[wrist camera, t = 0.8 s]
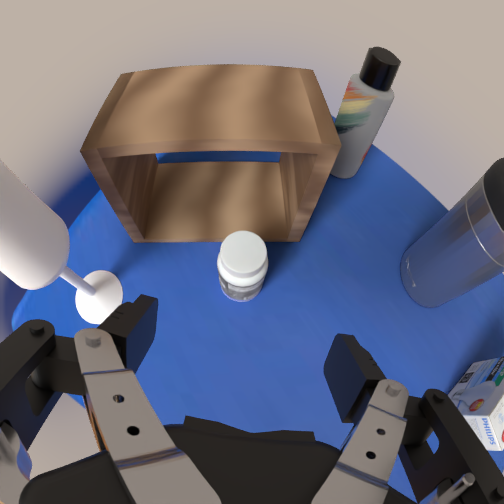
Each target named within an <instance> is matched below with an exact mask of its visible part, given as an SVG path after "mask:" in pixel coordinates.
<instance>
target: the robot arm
mask: <svg viewBox="0 0 504 504" xmlns="http://www.w3.org/2000/svg"><path fill="white" fill-rule="evenodd" d="M400 271H401V278H402V281H403V284H404V286H405V289H406V291H407V292H408V294H409V295H410V297H411V298H412V299H413V300H414V301H415V302H417V303H418V304H420V305H422V306H424V307H428V308H433V307H437V306H439V305H442V304H444V303H446V302H448V301H450V300H452V299H454V298H456V297H458V296H460V295H462V294H464V293H466V292H468V291H470V290H472V289H474V288H476V287H477V286H479V285H481V284H483V283H485V282H486V281H488V280H490V279H492V278H493V277H495V276H497V275H499V274H500V273H502V272H504V158H501V159H499V160H497V161H496V162H495V163H494V164H493V165H492V166H491V167H490V169H488V171H487V172H486V173H485V174H484V175H483V176H482V177H481V179H480V180H479V181H478V182H477V183H476V184H475V185H474V186H473V187H472V188H471V189H470V190H469V191H468V193H467V194H466V195H465V196H464V197H463V198H462V199H461V200H460V201H459V202H458V203H457V204H456V205H455V206H454V207H453V208H452V209H451V210H450V211H449V212H447V213H446V214H445V215H444V216H443V217H442V218H441V219H440V220H439V221H438V222H437V223H436V224H435V225H434V226H433V227H432V228H431V229H429V230H428V231H427V232H426V233H425V234H424V235H423V236H422V237H421V238H419V239H418V240H417V241H416V242H415V243H414V244H413V245H412V246H411V247H409V248H408V249H407V250H406V251H405V253H404V255H403V257H402V260H401V267H400ZM157 310H158V299H157V298H154V297H150V296H146V295H143V294H141V295H140V296H139V297H138V298H137V299H136V300H135V301H134V303H131V302H126V303H124V304H121V305H119V306H118V307H117V308H116V309H115V310H114V312H112V313H111V314H110V315H109V316H108V317H107V318H106V319H105V320H104V321H103V322H102V323H101V324H100V325H99V326H98V327H97V328H87V329H83V330H80V331H79V332H77V333H76V334H75V337H74V338H69V337H63V336H57V335H55V329H54V326H53V325H52V324H51V323H50V322H48V321H45V320H40V319H35V320H30V321H27V322H25V323H24V324H22V325H21V326H20V327H19V328H18V329H16V330H15V331H14V332H13V333H12V334H11V335H9V336H8V337H7V338H6V339H5V340H4V341H3V342H1V343H0V504H417V503H418V504H504V477H503V475H502V473H501V472H500V470H499V468H498V467H497V465H496V464H495V462H494V460H493V459H492V457H491V456H490V454H489V453H488V451H487V450H486V448H485V447H484V445H483V444H482V442H481V441H480V439H479V438H478V436H477V435H476V434H475V432H474V431H473V429H472V428H471V426H470V425H469V424H468V422H467V421H466V419H465V418H464V417H463V415H462V414H461V412H460V411H459V410H458V408H457V407H456V406H455V404H454V403H453V402H452V400H451V399H450V398H449V396H448V395H447V394H445V393H444V392H442V391H440V390H437V389H428V390H426V392H425V393H424V395H423V397H422V398H418V397H413V396H409V392H408V390H407V388H406V387H405V386H404V385H402V384H401V383H399V382H397V381H394V380H390V379H387V378H386V377H385V375H384V374H383V372H382V371H381V369H380V368H379V366H377V363H376V362H375V360H374V359H373V357H372V356H371V354H370V353H369V352H368V351H367V350H365V349H364V348H363V347H362V346H360V344H359V343H358V341H357V340H356V338H355V337H354V336H353V335H347V334H337V335H336V336H335V338H334V340H333V343H332V346H331V348H330V351H329V353H328V356H327V358H326V361H325V364H324V375H325V378H326V381H327V383H328V386H329V389H330V391H331V394H332V397H333V399H334V402H335V405H336V407H337V410H338V413H339V415H340V418H341V421H342V423H354V426H353V427H352V429H351V430H350V432H349V434H348V436H347V437H346V439H345V441H344V442H343V444H342V445H341V447H340V449H337V448H335V447H333V446H331V445H329V444H326V443H323V442H320V441H316V440H315V436H314V432H309V431H289V430H281V431H271V432H260V433H250V432H246V431H243V430H240V429H237V428H234V427H231V426H228V425H225V424H222V423H220V422H216V421H210V420H205V419H200V418H195V417H191V416H185V420H184V424H169V425H162V424H161V422H160V420H159V419H158V417H157V415H156V414H155V412H154V410H153V408H152V406H151V405H150V403H149V401H148V399H147V397H146V396H145V394H144V392H143V390H142V388H141V386H140V384H139V382H138V380H137V378H136V376H135V373H136V371H137V370H138V368H139V366H140V364H141V362H142V361H143V359H144V357H145V355H146V353H147V352H148V350H149V348H150V346H151V345H152V343H153V340H154V337H155V332H156V321H157ZM30 374H31V375H30ZM27 378H28V379H27ZM63 393H69V394H75V395H82V397H83V400H84V404H85V407H86V411H87V414H88V417H89V420H90V424H91V427H92V430H93V433H94V435H95V439H96V442H97V445H98V448H99V451H100V452H98V453H96V454H94V455H91V456H89V457H86V458H84V459H81V460H79V461H76V462H74V463H71V464H68V465H65V466H63V467H60V468H57V469H54V470H51V471H48V472H45V473H43V474H40V475H38V476H36V477H34V478H33V479H31V480H30V472H31V469H32V461H31V458H30V456H29V454H28V453H27V451H28V449H29V447H30V445H31V444H32V442H33V440H34V439H35V437H36V435H37V433H38V432H39V430H40V428H41V427H42V425H43V423H44V422H45V420H46V419H47V417H48V415H49V414H50V412H51V411H52V409H53V407H54V406H55V404H56V403H57V401H58V400H59V398H60V397H61V395H62V394H63ZM433 431H434V432H435V434H436V436H437V437H438V439H439V448H438V450H437V451H436V452H435V454H433V452H432V450H431V448H430V447H429V445H428V443H427V441H426V440H427V438H428V437H429V436H430V434H431V433H432V432H433ZM397 454H398V455H399V457H400V460H401V462H402V465H403V467H404V469H405V472H406V474H407V477H408V479H409V482H410V484H411V487H412V490H413V492H414V495H415V497H416V500H417V503H415V502H414V501H412V500H411V499H409V498H407V497H406V496H404V495H403V494H401V493H400V492H398V491H397V490H395V489H394V488H392V487H391V486H389V485H388V484H387V482H388V479H389V476H390V474H391V471H392V468H393V465H394V463H395V460H396V457H397Z"/></svg>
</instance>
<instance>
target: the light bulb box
mask: <svg viewBox="0 0 504 504" xmlns="http://www.w3.org/2000/svg"><path fill="white" fill-rule="evenodd" d="M448 396H449V398H450V399H451V400H452V402H453V403H454V404H455V406H456V407H457V408H458V410H459V411H460V412H461V414H462V415H463V417H464V418H465V419H466V421H467V422H468V424H469V425H470V426H471V428H472V429H473V431H474V432H475V434H476V435H477V436H478V438H479V439H480V441H481V442H482V444H483V445H484V447H485V448H486V450H494V451H502V450H503V449H504V356H503V357H499V358H495V359H490V360H485V361H480V362H475V363H473V364H472V365H471V366H470V368H469V369H468V370H467V372H466V373H465V374H464V376H463V377H462V378H461V379H460V381H459V382H458V383H457V384H456V386H455V387H454V388H453V389H452V390H451V392H450V393H449V394H448Z"/></svg>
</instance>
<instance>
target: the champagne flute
mask: <svg viewBox="0 0 504 504" xmlns="http://www.w3.org/2000/svg"><path fill="white" fill-rule="evenodd" d="M69 249H70V242H69V234H68V230H67V228H66V225H65V223H64V222H63V220H62V219H61V218H60V217H59V216H58V215H57V214H56V213H55V212H53V211H52V210H51V209H50V208H49V207H48V206H47V205H46V204H45V203H44V202H42V201H41V200H40V199H39V198H38V197H37V196H36V195H35V194H34V193H33V192H32V191H31V190H30V189H29V188H28V187H27V186H26V185H25V184H24V183H23V182H22V181H21V180H20V179H18V177H17V176H16V175H15V174H14V173H13V172H12V171H11V170H10V169H9V168H8V167H7V166H6V165H5V164H4V163H3V162H2V161H1V160H0V271H1V272H3V273H4V274H5V275H6V276H7V277H9V278H10V279H11V280H13V281H14V282H15V283H16V284H17V285H19V286H20V287H22V288H25V289H29V290H35V289H39V288H42V287H45V286H47V285H49V284H51V283H52V282H53V281H55V280H56V279H57V278H58V277H59V276H61V277H62V278H63V279H65V280H66V281H68V282H69V283H70V284H72V285H73V286H75V287H76V288H78V289H77V292H76V306H77V310H78V312H79V314H80V315H81V316H82V318H83V319H85V320H86V321H88V322H89V323H93V324H101V323H102V322H103V321H104V320H105V319H106V318H107V317H108V316H109V315H110V314H111V313H112V312H114V310H115V309H116V308H117V307H118V306H119V305H121V304H122V299H123V291H122V286H121V283H120V281H119V280H118V278H117V277H116V276H115V275H114V274H112V273H111V272H108V271H104V270H98V271H94V272H92V273H90V274H88V275H87V276H86V277H85V278H84V279H82V278H81V277H80V276H78V275H77V274H76V273H74V272H73V271H72V270H71V269H69V268H68V267H67V266H66V263H67V260H68V255H69Z"/></svg>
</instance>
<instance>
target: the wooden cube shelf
mask: <svg viewBox="0 0 504 504" xmlns="http://www.w3.org/2000/svg"><path fill="white" fill-rule="evenodd" d="M340 148H341V142H340V139H339V136H338V133H337V131H336V128H335V125H334V122H333V119H332V117H331V114H330V112H329V109H328V106H327V103H326V101H325V98H324V96H323V93H322V91H321V88H320V86H319V83H318V81H317V79H316V76H315V74H314V72H313V70H309V69H301V68H292V67H281V66H266V65H236V64H227V65H225V64H224V65H195V66H180V67H169V68H160V69H151V70H144V71H137V72H131V73H125V74H121V75H120V77H119V78H118V80H117V81H116V83H115V85H114V86H113V88H112V90H111V91H110V93H109V95H108V97H107V98H106V100H105V102H104V104H103V106H102V108H101V109H100V111H99V113H98V115H97V117H96V119H95V121H94V123H93V125H92V127H91V129H90V131H89V133H88V135H87V137H86V139H85V141H84V143H83V145H82V148H81V150H80V152H81V154H82V156H83V158H84V159H85V161H86V163H87V165H88V167H89V169H90V171H91V172H92V174H93V176H94V178H95V180H96V181H97V183H98V185H99V187H100V188H101V190H102V192H103V193H104V195H105V197H106V199H107V200H108V202H109V204H110V205H111V207H112V209H113V210H114V212H115V213H116V215H117V217H118V218H119V220H120V221H121V223H122V225H123V226H124V228H125V229H126V231H127V233H128V234H129V236H130V237H131V239H132V240H133V242H134V243H144V242H223V241H224V240H225V238H226V237H227V236H228V235H230V234H232V233H234V232H237V231H250V232H253V233H255V234H257V235H258V236H259V237H260V238H261V239H262V240H263V241H264V242H300V239H301V237H302V235H303V233H304V231H305V228H306V226H307V224H308V222H309V220H310V217H311V215H312V213H313V211H314V208H315V206H316V204H317V202H318V199H319V197H320V195H321V192H322V190H323V188H324V186H325V183H326V181H327V179H328V176H329V174H330V172H331V169H332V167H333V165H334V162H335V160H336V157H337V155H338V153H339V150H340ZM189 151H272V152H281V156H280V161H279V163H278V162H184V163H163V164H158V161H157V158H156V154H155V153H168V152H189Z"/></svg>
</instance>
